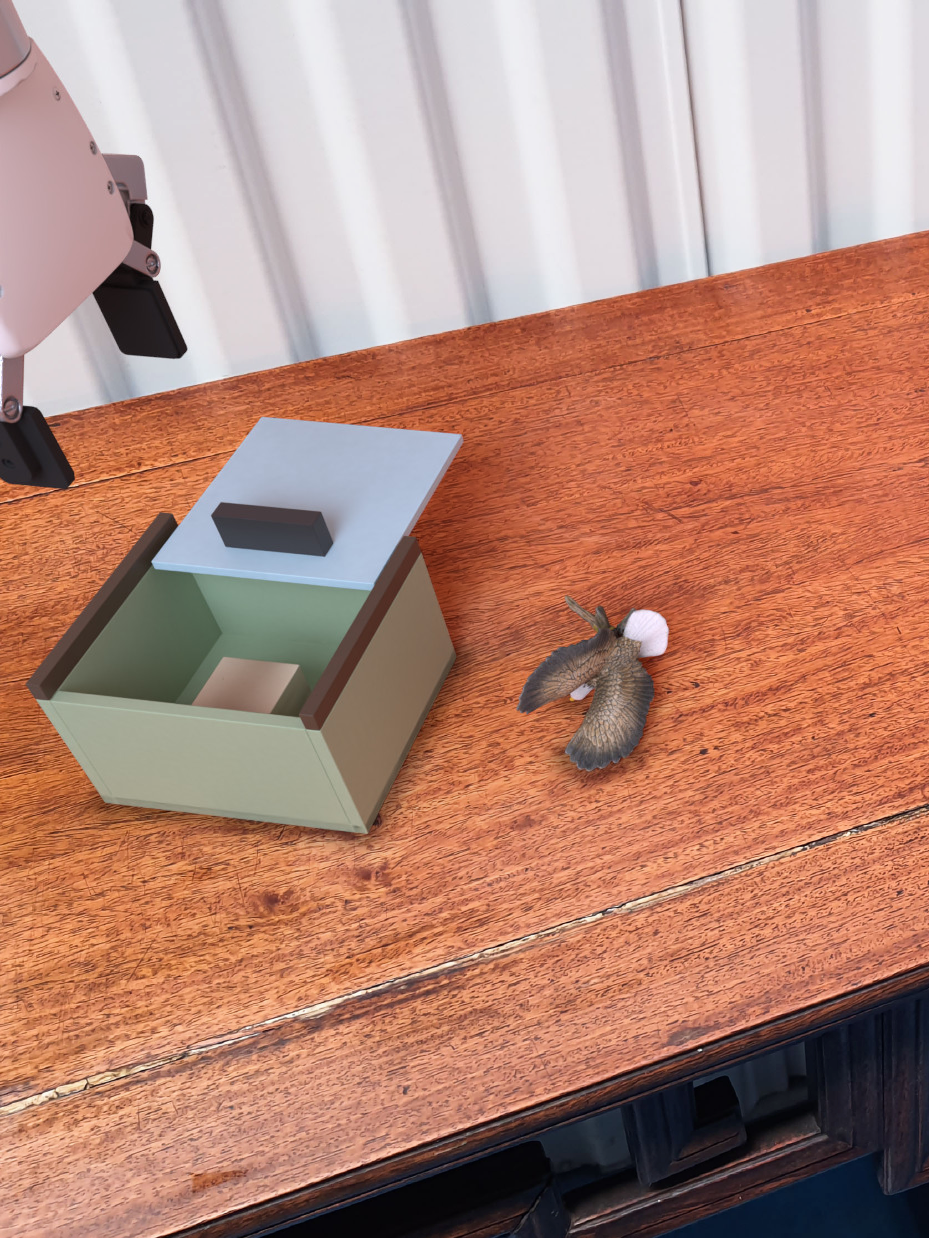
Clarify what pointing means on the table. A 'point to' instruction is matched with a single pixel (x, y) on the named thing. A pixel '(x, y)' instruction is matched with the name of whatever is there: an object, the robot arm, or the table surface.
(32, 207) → the robot arm
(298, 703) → the block
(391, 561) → the case
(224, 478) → the light blue lid
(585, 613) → the eagle figurine
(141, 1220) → the table surface
